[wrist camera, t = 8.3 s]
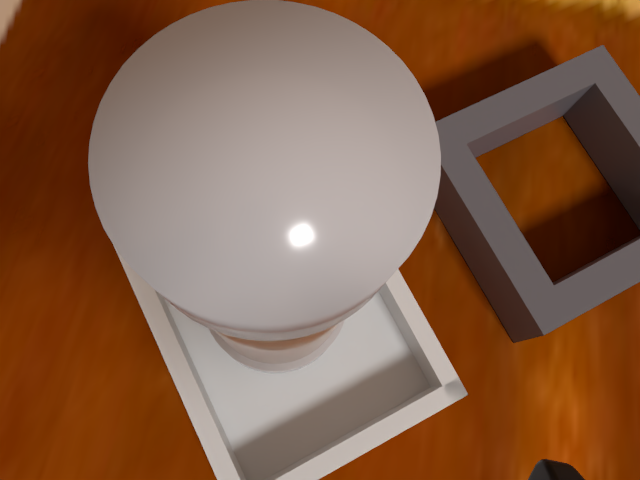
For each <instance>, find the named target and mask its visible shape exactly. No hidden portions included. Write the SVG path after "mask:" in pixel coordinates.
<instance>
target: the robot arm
mask: <svg viewBox="0 0 640 480" xmlns="http://www.w3.org/2000/svg"><path fill="white" fill-rule="evenodd" d="M528 480H585V479H584V478H583V477H582V476H581V475H580V474H579V472H578V471H577V470H576V469H575V468H574V467H573V466H571V465H569V464H567V463H563V462H558V461H552V460H547V459H542V460H540V461H539V462H538V463H537V464H536V465H535V467H534V469H533V471H532V473H531V475H530V477H529V479H528Z"/></svg>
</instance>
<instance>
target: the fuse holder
mask: <svg viewBox="0 0 640 480" xmlns="http://www.w3.org/2000/svg"><path fill="white" fill-rule="evenodd" d="M561 116H564V118H565V119H566V121H567V122H568V124H569V125H570V127H571V128H572V130H573V131H574V133H575V134H576V136H577V137H578V139H579V140H580V142H581V143H582V145H583V146H584V148H585V149H586V151H587V152H588V154H589V155H590V157H591V158H592V160H593V161H594V163H595V164H596V166H597V167H598V169H599V170H600V172H601V173H602V175H603V176H604V178H605V179H606V180H607V182H608V183H609V185H610V186H611V188H612V189H613V191H614V192H615V194H616V195H617V197H618V198H619V200H620V201H621V203H622V204H623V206H624V207H625V209H626V210H627V212H628V213H629V215H630V216H631V218H632V219H633V221H634V222H635V224H636V225H637V227H638V228H639V230H640V96H639V95H638V93H637V92H636V91H635V89H634V88H633V86H632V85H631V84H630V82H629V81H628V79H627V78H626V77H625V75H624V74H623V72H622V71H621V70H620V68H619V67H618V65H617V64H616V63H615V61H614V60H613V58H612V57H611V56H610V54H609V53H608V51H607V50H606V48H605V47H604V46H603V45H602V46H600V47H597V48H595V49H593V50H591V51H589V52H586V53H584V54H582V55H580V56H578V57H576V58H573V59H571V60H569V61H567V62H565V63H562V64H560V65H558V66H556V67H554V68H552V69H549V70H547V71H545V72H543V73H541V74H539V75H536V76H534V77H532V78H530V79H528V80H525V81H523V82H521V83H519V84H517V85H515V86H512V87H510V88H508V89H506V90H504V91H502V92H499V93H497V94H495V95H493V96H491V97H488V98H486V99H484V100H482V101H480V102H478V103H475V104H473V105H471V106H469V107H467V108H465V109H462V110H460V111H458V112H456V113H454V114H451V115H449V116H447V117H445V118H443V119H441V120H438V121H436V122H435V123H436V127H437V131H438V135H439V143H440V151H441V176H440V183H439V189H438V195H437V199H436V202H435V206H434V208H435V210H436V212H437V214H438V215H439V217H440V219H441V220H442V222H443V224H444V225H445V227H446V229H447V231H448V232H449V234H450V236H451V237H452V239H453V241H454V242H455V244H456V246H457V248H458V249H459V251H460V253H461V254H462V256H463V258H464V259H465V261H466V263H467V265H468V266H469V268H470V270H471V271H472V273H473V275H474V276H475V278H476V280H477V282H478V283H479V285H480V287H481V288H482V290H483V292H484V293H485V295H486V297H487V299H488V300H489V302H490V304H491V305H492V307H493V309H494V310H495V312H496V314H497V316H498V317H499V319H500V321H501V322H502V324H503V326H504V327H505V329H506V331H507V333H508V334H509V336H510V338H511V339H512V341H513V343H515V342H519V341H523V340H527V339H531V338H535V337H539V336H543V335H545V334H547V333H549V332H551V331H553V330H554V329H556V328H558V327H560V326H561V325H563V324H565V323H567V322H569V321H570V320H572V319H574V318H576V317H578V316H579V315H581V314H583V313H585V312H586V311H588V310H590V309H592V308H594V307H595V306H597V305H599V304H601V303H603V302H604V301H606V300H608V299H610V298H611V297H613V296H615V295H617V294H619V293H620V292H622V291H624V290H626V289H628V288H629V287H631V286H633V285H635V284H636V283H638V282H640V236H638V237H636V238H634V239H632V240H631V241H629V242H627V243H625V244H623V245H621V246H619V247H618V248H616V249H614V250H612V251H610V252H608V253H607V254H605V255H603V256H601V257H599V258H597V259H595V260H594V261H592V262H590V263H588V264H586V265H584V266H583V267H581V268H579V269H577V270H575V271H573V272H571V273H570V274H568V275H566V276H564V277H562V278H560V279H559V280H557V281H555V282H553V283H552V281H551V280H550V278H549V276H548V275H547V273H546V272H545V270H544V268H543V267H542V265H541V264H540V262H539V260H538V259H537V257H536V255H535V254H534V252H533V251H532V249H531V247H530V246H529V244H528V243H527V241H526V239H525V238H524V236H523V234H522V233H521V231H520V230H519V228H518V226H517V225H516V223H515V222H514V220H513V218H512V217H511V215H510V214H509V212H508V210H507V209H506V207H505V205H504V204H503V202H502V201H501V199H500V197H499V196H498V194H497V193H496V191H495V189H494V188H493V186H492V184H491V183H490V181H489V180H488V178H487V176H486V175H485V173H484V172H483V170H482V168H481V167H480V165H479V163H478V162H477V160H476V159H475V158H476V157H478V156H480V155H482V154H484V153H486V152H488V151H490V150H492V149H494V148H497V147H499V146H501V145H503V144H505V143H507V142H509V141H511V140H513V139H515V138H517V137H519V136H522V135H524V134H526V133H528V132H530V131H532V130H534V129H536V128H538V127H540V126H542V125H544V124H547V123H549V122H551V121H553V120H555V119H557V118H559V117H561Z"/></svg>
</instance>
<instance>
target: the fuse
mask: <svg viewBox="0 0 640 480" xmlns="http://www.w3.org/2000/svg"><path fill="white" fill-rule="evenodd" d="M88 168H89V179H90V188H91V192H92V196H93V200H94V204H95V208H96V211H97V213H98V215H99V218H100V220H101V223H102V225H103V228H104V230H105V232H106V233H107V235H108V237H109V238H110V240H111V242H112V243H113V245H114V247H115V249H116V250H117V251H118V252H119V254H120V255H121V256H122V257H123V259H124V260H125V261H126V262H127V264H128V265H129V266H130V267H131V268H132V269H133V270H134V271H135V272H136V273H137V274H138V275H139V276H140V277H141V278H142V279H143V280H144V281H146V282H147V283H148V284H149V285H150V286H151V287H152V288H153V289H155V290H156V291H157V292H158V293H159V294H160V295H161V296H163V297H164V298H165V299H166V300H167V301H168V302H169V303H171V304H172V305H173V306H174V307H175V308H176V309H178V310H179V311H180V312H182V313H183V314H185V315H186V316H187V317H189V318H190V319H192V320H193V321H195V322H197V323H199V324H201V325H203V326H205V327H207V328H209V330H210V332H211V334H212V336H213V337H214V339H215V340H216V342H217V343H218V344H219V345H220V347H221V348H222V349H223V350H224V351H225V352H227V353H228V354H229V355H230V356H231V357H232V358H233V359H235V360H236V361H237V362H239V363H240V364H242V365H244V366H246V367H248V368H250V369H253V370H256V371H259V372H264V373H274V374H276V373H286V372H292V371H295V370H298V369H301V368H303V367H305V366H307V365H309V364H310V363H312V362H313V361H315V360H316V359H317V358H319V357H320V356H321V355H322V354H323V353H324V352H325V351H326V350H327V349H328V347H329V346H330V345H331V344H332V343H333V342H334V340H335V339H336V337H337V336H338V334H339V332H340V330H341V328H342V326H343V324H344V321H345V319H347V318H348V317H350V316H351V315H353V314H354V313H356V312H357V311H358V310H359V309H360V308H362V307H363V306H364V305H365V304H366V303H367V302H369V301H370V300H371V299H372V298H373V296H374V295H375V294H376V293H377V292H378V291H379V290H380V288H381V287H382V286H383V285H384V284H385V283H386V282H387V281H388V279H389V278H390V277H391V276H392V275H393V274H394V273H395V271H396V270H397V269H398V268H399V267H400V266H401V265H402V264H403V262H404V261H405V260H406V259H407V258H408V257H409V255H410V254H411V252H412V251H413V249H414V248H415V246H416V245H417V243H418V242H419V240H420V239H421V237H422V235H423V233H424V231H425V229H426V227H427V225H428V222H429V220H430V218H431V215H432V212H433V209H434V206H435V202H436V199H437V195H438V189H439V183H440V176H441V151H440V143H439V135H438V131H437V127H436V123H435V119H434V116H433V113H432V110H431V108H430V106H429V103H428V101H427V98H426V96H425V94H424V92H423V91H422V89H421V87H420V85H419V84H418V82H417V80H416V78H415V77H414V76H413V74H412V73H411V72H410V70H409V69H408V68H407V66H406V65H405V64H404V63H403V61H402V60H401V59H400V58H399V57H398V56H397V55H396V54H395V53H394V52H393V51H392V50H391V49H390V48H389V47H388V46H387V45H386V44H384V43H383V42H382V41H381V40H379V39H378V38H377V37H376V36H374V35H373V34H372V33H370V32H369V31H367V30H365V29H364V28H362V27H361V26H359V25H357V24H356V23H354V22H352V21H350V20H348V19H346V18H344V17H341V16H339V15H337V14H335V13H332V12H329V11H326V10H323V9H320V8H317V7H314V6H309V5H305V4H300V3H296V2H288V1H278V0H249V1H241V2H232V3H227V4H223V5H219V6H214V7H210V8H207V9H205V10H202V11H199V12H196V13H193V14H191V15H189V16H187V17H185V18H182V19H180V20H178V21H176V22H174V23H172V24H171V25H169V26H167V27H166V28H164V29H163V30H161V31H160V32H158V33H157V34H155V35H154V36H152V37H151V38H150V39H149V40H148V41H147V42H145V43H144V44H143V45H142V46H141V47H139V48H138V49H137V50H136V51H135V52H134V53H133V54H132V56H131V57H130V58H129V59H128V60H127V61H126V62H125V63H124V64H123V65H122V67H121V68H120V70H119V71H118V73H117V74H116V75H115V77H114V78H113V80H112V81H111V83H110V84H109V86H108V88H107V90H106V92H105V94H104V96H103V98H102V100H101V102H100V105H99V108H98V110H97V113H96V116H95V119H94V122H93V127H92V132H91V137H90V142H89V157H88Z"/></svg>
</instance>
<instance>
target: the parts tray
mask: <svg viewBox="0 0 640 480" xmlns="http://www.w3.org/2000/svg"><path fill="white" fill-rule="evenodd" d="M114 248H115V247H114ZM115 250H116V249H115ZM116 252H117V254H118V257H119V259H120V261H121V263H122V266H123V268H124V270H125V272H126V275H127V277H128V279H129V281H130V284H131V286H132V288H133V290H134V293H135V295H136V297H137V299H138V302H139V304H140V306H141V308H142V311H143V313H144V315H145V318H146V320H147V322H148V324H149V327H150V329H151V331H152V333H153V336H154V338H155V340H156V342H157V345H158V347H159V349H160V351H161V354H162V356H163V358H164V360H165V363H166V365H167V367H168V369H169V372H170V374H171V376H172V378H173V381H174V383H175V385H176V388H177V390H178V392H179V394H180V397H181V399H182V401H183V403H184V406H185V408H186V410H187V412H188V415H189V417H190V419H191V421H192V424H193V426H194V428H195V430H196V433H197V435H198V437H199V439H200V442H201V444H202V446H203V448H204V451H205V453H206V455H207V458H208V460H209V462H210V464H211V467H212V469H213V471H214V473H215V476H216V478H217V480H318V479H320V478H322V477H323V476H325V475H327V474H329V473H331V472H332V471H334V470H336V469H338V468H339V467H341V466H343V465H345V464H346V463H348V462H350V461H352V460H354V459H355V458H357V457H359V456H361V455H362V454H364V453H366V452H368V451H369V450H371V449H373V448H375V447H376V446H378V445H380V444H382V443H384V442H385V441H387V440H389V439H391V438H392V437H394V436H396V435H398V434H399V433H401V432H403V431H405V430H407V429H408V428H410V427H412V426H414V425H415V424H417V423H419V422H421V421H422V420H424V419H426V418H428V417H429V416H431V415H433V414H435V413H437V412H438V411H440V410H442V409H444V408H445V407H447V406H449V405H451V404H452V403H454V402H456V401H458V400H459V399H461V398H463V397H465V396H467V395H468V393H467V392H466V390H465V388H464V386H463V384H462V383H461V381H460V379H459V377H458V375H457V374H456V372H455V370H454V368H453V366H452V365H451V363H450V361H449V359H448V357H447V356H446V354H445V352H444V350H443V349H442V347H441V345H440V343H439V341H438V340H437V338H436V336H435V334H434V332H433V331H432V329H431V327H430V325H429V323H428V322H427V320H426V318H425V316H424V314H423V313H422V311H421V309H420V307H419V306H418V304H417V302H416V300H415V298H414V297H413V295H412V293H411V291H410V289H409V288H408V286H407V284H406V282H405V280H404V279H403V277H402V275H401V273H400V271H399V270H398V269H397V270H396V271H395V273H394V274H393V275H392V276H391V277H390V278H389V279H388V281H387V282H386V283H385V284H384V285H383V286H382V287H381V288H380V290H379V291H378V292H377V293H376V294H375V295H374V296H373V298H372V299H371V300H370V301H369V302H367V303H366V304H365V305H364V306H363V307H362V308H360V309H359V310H358V311H357V312H356V313H354V314H353V315H351V316H350V317H348V318H347V319H345V321H344V324H343V326H342V328H341V330H340V332H339V334H338V336H337V337H336V339H335V340H334V342H333V343H332V344H331V345H330V346H329V347H328V349H327V350H326V351H325V352H324V353H323V354H322V355H321V356H320V357H319V358H317V359H316V360H315V361H313V362H312V363H310V364H309V365H307V366H305V367H303V368H301V369H298V370H295V371H292V372H286V373H276V374H274V373H264V372H259V371H256V370H253V369H250V368H248V367H246V366H244V365H242V364H240V363H239V362H237V361H236V360H235V359H233V358H232V357H231V356H230V355H229V354H228V353H227V352H225V351H224V350H223V349H222V348H221V347H220V345H219V344H218V343H217V342H216V340H215V339H214V337H213V336H212V334H211V332H210V330H209V328H207V327H205V326H203V325H201V324H199V323H197V322H195V321H193V320H192V319H190V318H189V317H187V316H186V315H185V314H183V313H182V312H180V311H179V310H178V309H176V308H175V307H174V306H173V305H172V304H171V303H169V302H168V301H167V300H166V299H165V298H164V297H163V296H161V295H160V294H159V293H158V292H157V291H156V290H155V289H153V288H152V287H151V286H150V285H149V284H148V283H147V282H146V281H144V280H143V279H142V278H141V277H140V276H139V275H138V274H137V273H136V272H135V271H134V270H133V269H132V268H131V267H130V266H129V265H128V264H127V262H126V261H125V260H124V259H123V257H122V256H121V255H120V254H119V252H118V251H117V250H116Z"/></svg>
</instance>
